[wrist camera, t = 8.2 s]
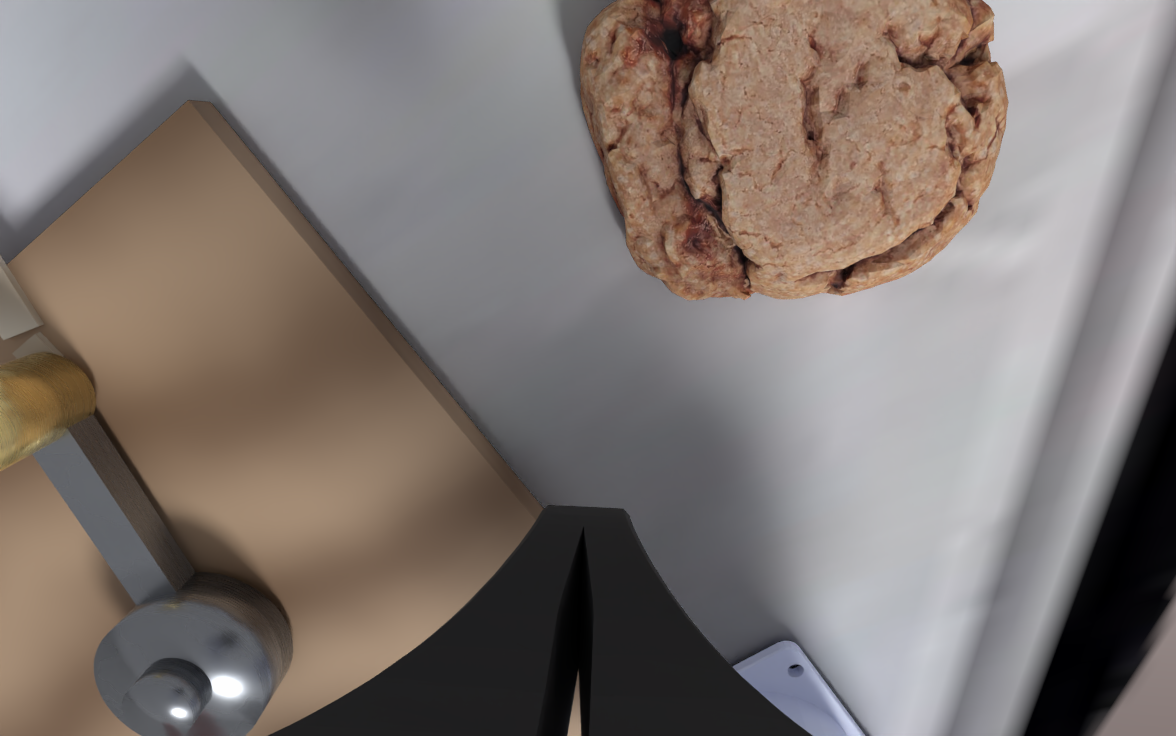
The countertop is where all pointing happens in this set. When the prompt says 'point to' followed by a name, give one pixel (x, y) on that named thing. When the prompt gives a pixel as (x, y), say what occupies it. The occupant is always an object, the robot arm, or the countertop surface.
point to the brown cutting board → (238, 435)
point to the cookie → (792, 137)
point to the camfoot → (145, 573)
